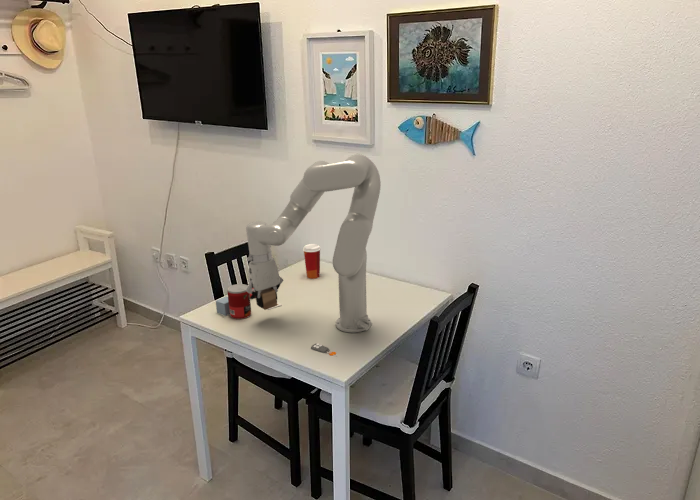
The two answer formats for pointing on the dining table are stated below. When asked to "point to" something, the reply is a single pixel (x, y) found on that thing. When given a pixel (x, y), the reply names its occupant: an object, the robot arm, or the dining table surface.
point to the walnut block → (268, 298)
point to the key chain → (322, 349)
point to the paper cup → (312, 260)
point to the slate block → (223, 306)
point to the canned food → (239, 301)
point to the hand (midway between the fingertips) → (267, 303)
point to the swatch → (276, 306)
